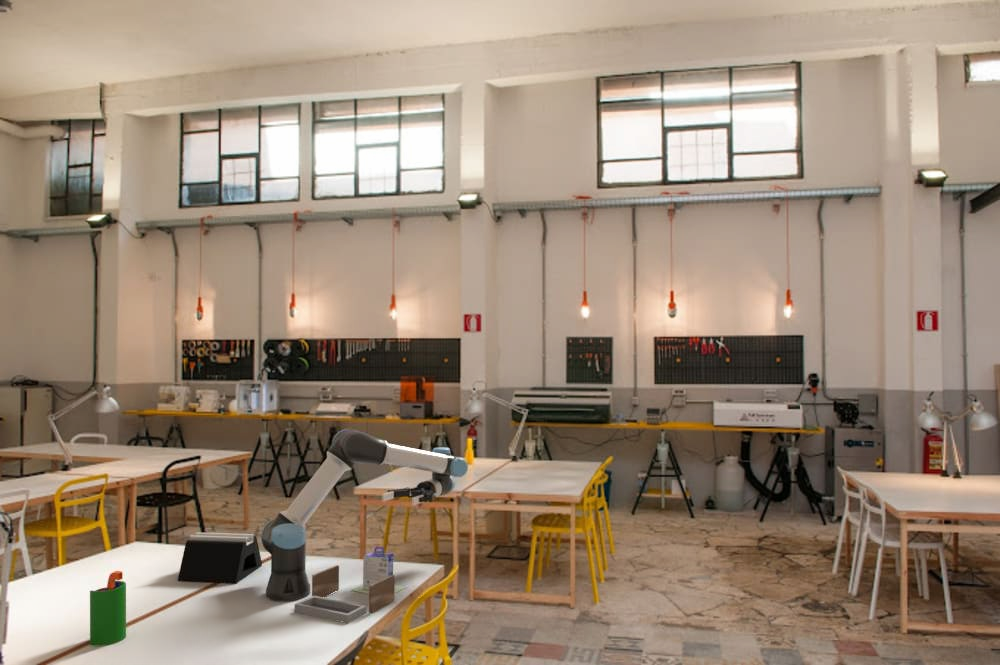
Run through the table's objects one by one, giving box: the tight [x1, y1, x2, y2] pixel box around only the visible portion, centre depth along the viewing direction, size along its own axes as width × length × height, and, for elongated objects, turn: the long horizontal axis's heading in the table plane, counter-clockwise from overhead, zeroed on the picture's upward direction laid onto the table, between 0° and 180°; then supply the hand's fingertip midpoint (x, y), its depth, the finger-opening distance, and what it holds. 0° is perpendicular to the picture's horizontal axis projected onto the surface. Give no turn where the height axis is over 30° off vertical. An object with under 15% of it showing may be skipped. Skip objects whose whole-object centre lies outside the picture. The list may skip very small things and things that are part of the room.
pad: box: [350, 583, 407, 595], centre depth 268 cm, size 16×12×1 cm
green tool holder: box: [89, 570, 127, 647], centre depth 222 cm, size 10×9×20 cm
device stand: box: [177, 532, 263, 585], centre depth 286 cm, size 22×22×15 cm
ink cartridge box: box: [362, 546, 394, 590], centre depth 268 cm, size 10×6×14 cm, turn 78°
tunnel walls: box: [311, 564, 396, 615], centre depth 255 cm, size 25×13×9 cm, turn 63°
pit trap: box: [294, 595, 367, 624], centre depth 244 cm, size 22×9×2 cm, turn 63°
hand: (397, 499), depth 279 cm, fingers open, 13 cm apart
